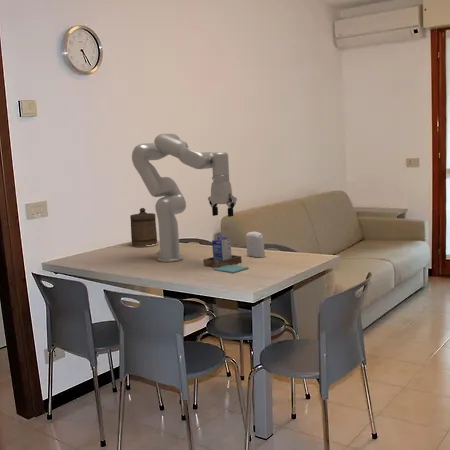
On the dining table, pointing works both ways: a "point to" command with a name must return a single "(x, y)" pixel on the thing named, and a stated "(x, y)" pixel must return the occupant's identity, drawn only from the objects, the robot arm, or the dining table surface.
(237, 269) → the teal mat
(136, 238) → the wooden container
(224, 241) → the ink cartridge box
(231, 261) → the walnut frame
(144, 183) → the robot arm
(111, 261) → the dining table surface
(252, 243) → the photo printer
